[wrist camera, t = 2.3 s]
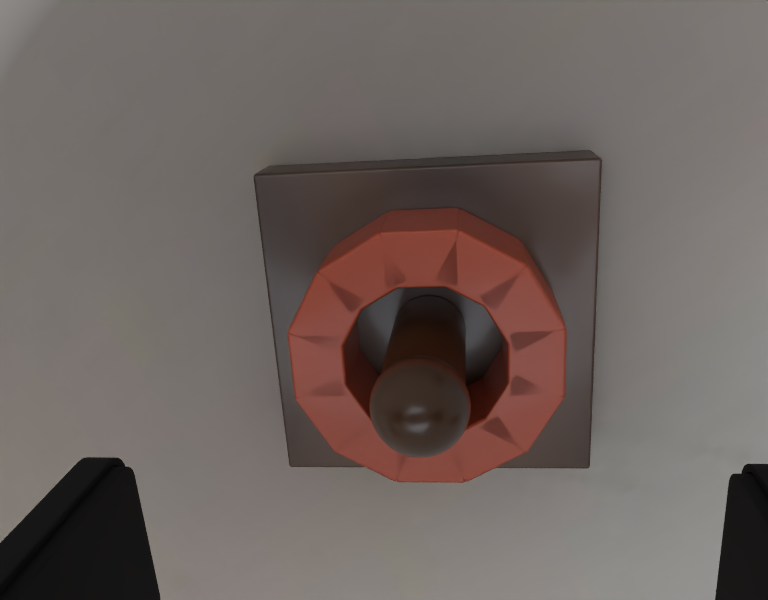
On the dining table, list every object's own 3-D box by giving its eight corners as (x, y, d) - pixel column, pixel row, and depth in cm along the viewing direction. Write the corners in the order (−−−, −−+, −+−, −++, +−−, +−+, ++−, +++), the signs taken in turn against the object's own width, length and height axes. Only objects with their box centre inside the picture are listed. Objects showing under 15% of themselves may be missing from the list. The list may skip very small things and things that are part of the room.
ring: (320, 436, 21) (303, 482, 19) (297, 213, 19) (274, 235, 16) (552, 436, 20) (563, 484, 18) (556, 203, 18) (570, 224, 16)
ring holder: (299, 442, 23) (232, 602, 16) (267, 166, 20) (168, 222, 13) (581, 442, 22) (634, 614, 15) (592, 149, 19) (662, 203, 12)
